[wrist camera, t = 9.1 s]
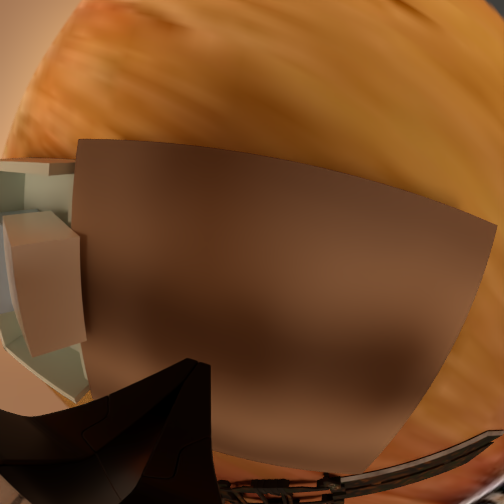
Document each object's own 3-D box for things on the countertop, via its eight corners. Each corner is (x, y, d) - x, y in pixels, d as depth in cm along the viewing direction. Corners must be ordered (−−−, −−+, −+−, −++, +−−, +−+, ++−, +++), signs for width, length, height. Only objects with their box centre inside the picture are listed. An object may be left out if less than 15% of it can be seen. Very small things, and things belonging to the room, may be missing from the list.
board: (358, 437, 14) (361, 474, 11) (117, 372, 16) (92, 398, 13) (460, 213, 10) (497, 225, 7) (120, 142, 12) (78, 139, 9)
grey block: (-19, 318, 9) (-22, 294, 11) (51, 302, 13) (40, 281, 15) (-34, 229, 8) (-31, 216, 9) (46, 219, 12) (37, 208, 13)
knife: (507, 415, 12) (513, 425, 11) (484, 456, 13) (488, 465, 12) (211, 466, 18) (206, 478, 16) (231, 497, 19) (228, 507, 18)
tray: (110, 368, 16) (76, 403, 12) (37, 326, 17) (4, 348, 13) (108, 162, 12) (49, 163, 8) (27, 157, 13) (-19, 161, 9)
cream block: (86, 340, 11) (32, 357, 8) (55, 294, 13) (12, 304, 11) (79, 236, 9) (11, 246, 7) (51, 210, 12) (2, 215, 10)
